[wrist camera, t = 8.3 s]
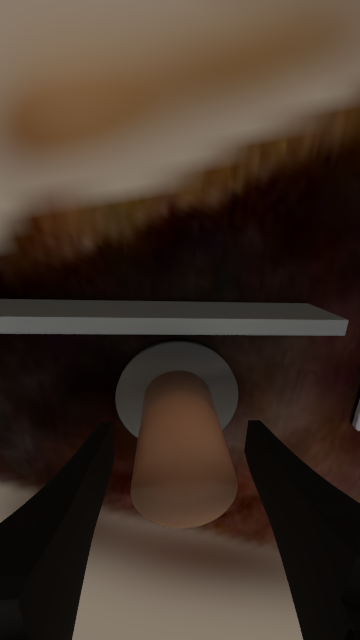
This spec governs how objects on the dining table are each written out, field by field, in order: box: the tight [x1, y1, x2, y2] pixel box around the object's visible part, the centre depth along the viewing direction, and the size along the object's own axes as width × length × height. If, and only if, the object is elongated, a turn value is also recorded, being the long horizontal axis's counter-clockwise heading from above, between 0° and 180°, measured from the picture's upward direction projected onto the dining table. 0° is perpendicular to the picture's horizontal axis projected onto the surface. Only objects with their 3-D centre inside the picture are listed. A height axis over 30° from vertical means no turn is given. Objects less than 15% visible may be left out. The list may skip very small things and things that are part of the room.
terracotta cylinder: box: [131, 370, 238, 529], centre depth 13 cm, size 4×4×6 cm
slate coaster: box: [115, 339, 238, 438], centre depth 16 cm, size 8×8×1 cm
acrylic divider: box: [0, 299, 349, 336], centre depth 13 cm, size 20×1×4 cm, turn 88°
